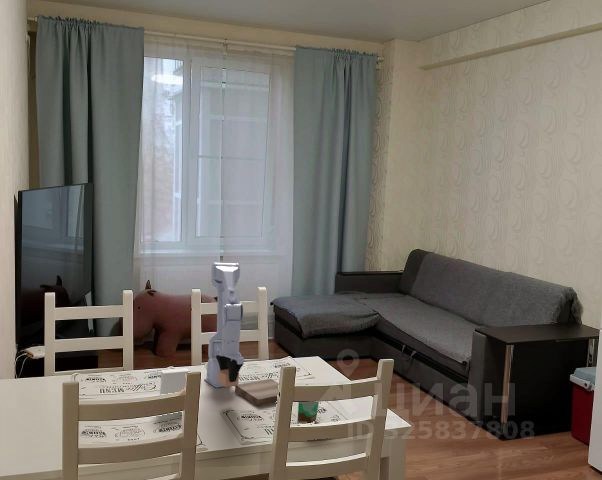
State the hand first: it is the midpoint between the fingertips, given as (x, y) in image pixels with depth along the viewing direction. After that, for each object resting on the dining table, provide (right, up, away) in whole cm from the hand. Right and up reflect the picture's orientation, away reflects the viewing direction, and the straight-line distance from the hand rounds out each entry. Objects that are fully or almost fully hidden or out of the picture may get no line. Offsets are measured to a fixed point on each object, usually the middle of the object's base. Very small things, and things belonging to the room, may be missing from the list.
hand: (228, 378), depth 204 cm
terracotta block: (0, -2, 0) cm, 2 cm away
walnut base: (+11, -8, +10) cm, 17 cm away
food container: (+27, -12, -9) cm, 31 cm away
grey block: (-17, -8, -5) cm, 20 cm away
